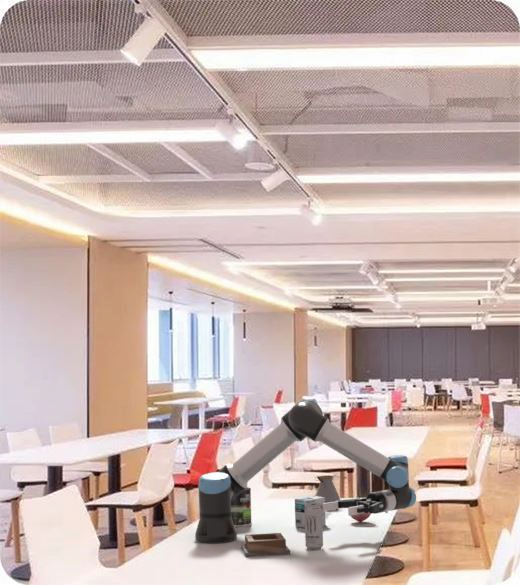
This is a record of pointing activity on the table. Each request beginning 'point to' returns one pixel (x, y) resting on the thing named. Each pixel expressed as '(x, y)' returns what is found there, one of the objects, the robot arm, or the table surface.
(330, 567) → the table surface
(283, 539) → the brown wooden open box
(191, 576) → the table surface
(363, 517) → the decorative fruit
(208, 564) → the table surface
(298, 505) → the light bulb box
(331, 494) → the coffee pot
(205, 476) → the robot arm
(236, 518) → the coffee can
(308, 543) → the energy drink can
